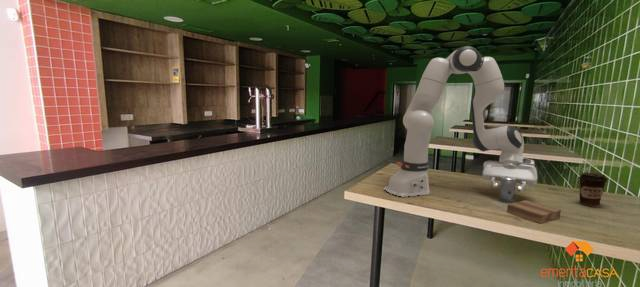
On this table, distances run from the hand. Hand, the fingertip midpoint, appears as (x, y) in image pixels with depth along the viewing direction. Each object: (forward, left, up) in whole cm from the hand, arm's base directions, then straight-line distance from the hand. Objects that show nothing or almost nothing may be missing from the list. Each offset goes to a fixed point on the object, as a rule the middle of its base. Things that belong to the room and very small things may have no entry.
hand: (507, 189), depth 124 cm
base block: (-5, -14, -5) cm, 16 cm away
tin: (+1, 0, -5) cm, 5 cm away
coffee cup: (+27, -18, -6) cm, 32 cm away
